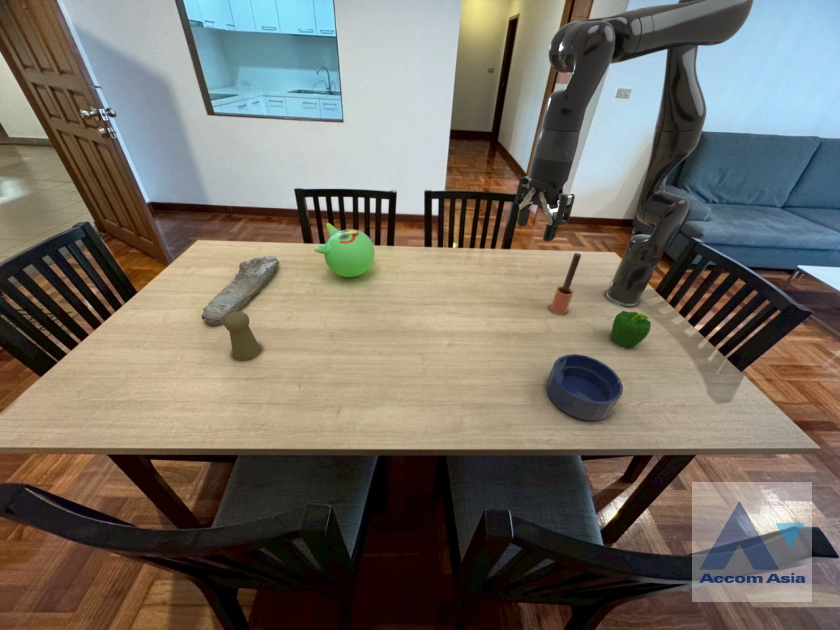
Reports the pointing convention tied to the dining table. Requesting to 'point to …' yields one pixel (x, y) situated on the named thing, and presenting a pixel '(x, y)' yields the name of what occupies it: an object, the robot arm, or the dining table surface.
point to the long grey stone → (240, 289)
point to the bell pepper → (630, 328)
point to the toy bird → (347, 251)
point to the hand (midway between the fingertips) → (534, 232)
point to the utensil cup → (561, 300)
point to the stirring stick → (571, 273)
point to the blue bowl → (584, 387)
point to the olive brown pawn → (241, 336)
